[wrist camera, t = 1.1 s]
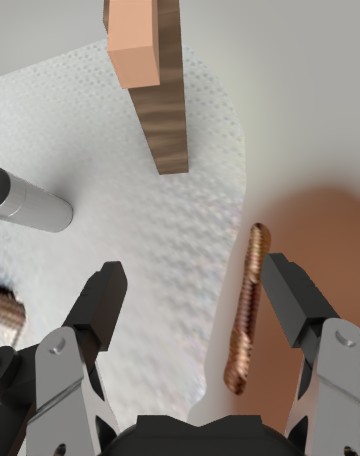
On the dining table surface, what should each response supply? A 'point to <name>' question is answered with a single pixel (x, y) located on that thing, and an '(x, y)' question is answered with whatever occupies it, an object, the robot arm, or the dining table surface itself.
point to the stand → (164, 95)
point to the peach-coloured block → (134, 42)
